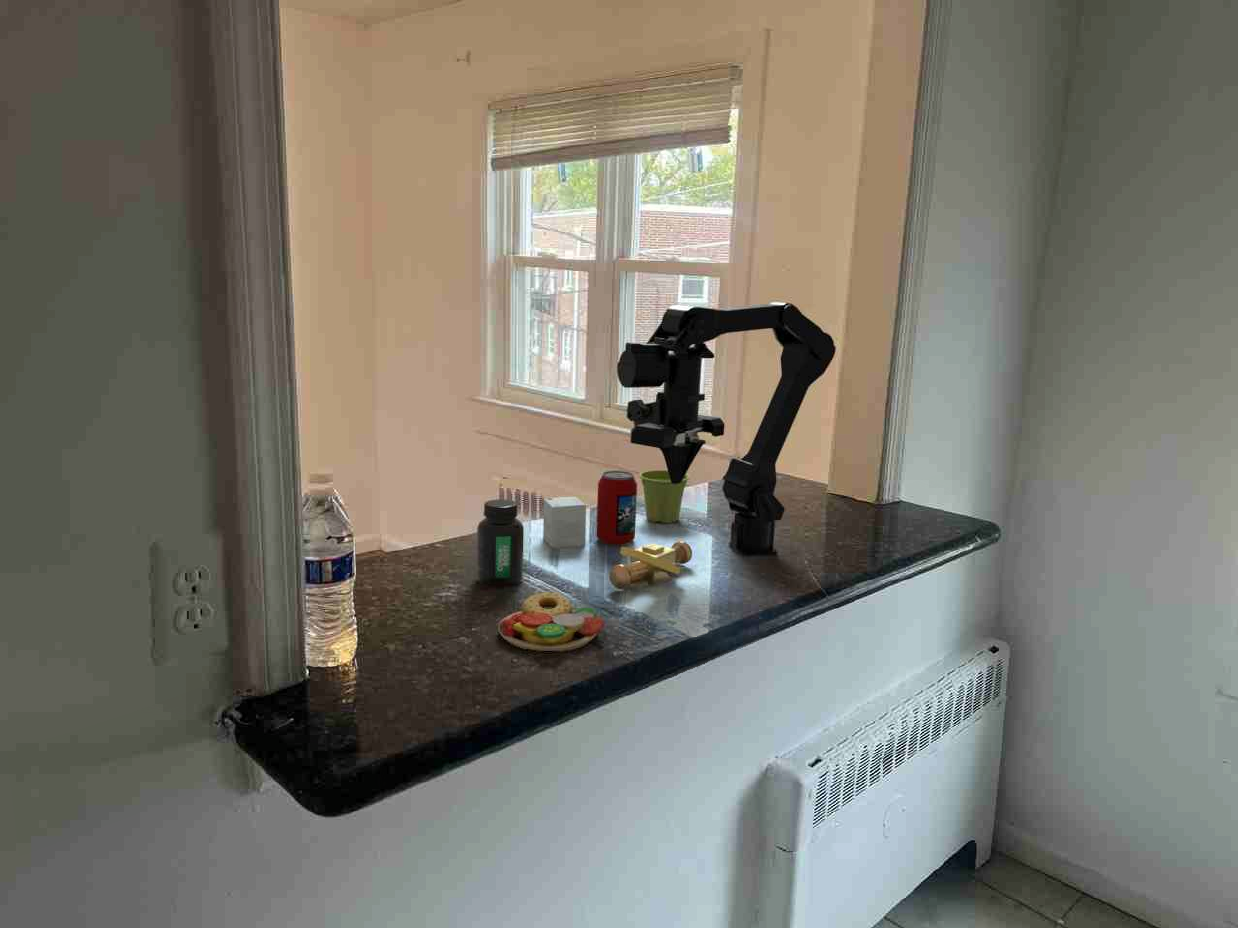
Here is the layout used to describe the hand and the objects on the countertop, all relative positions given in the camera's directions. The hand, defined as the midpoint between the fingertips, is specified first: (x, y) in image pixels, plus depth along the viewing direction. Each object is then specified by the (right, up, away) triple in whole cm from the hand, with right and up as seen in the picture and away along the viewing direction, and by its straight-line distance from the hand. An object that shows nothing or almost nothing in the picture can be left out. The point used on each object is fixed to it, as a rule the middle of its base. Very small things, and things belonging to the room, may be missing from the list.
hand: (675, 483), depth 144 cm
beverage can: (-10, -11, +12) cm, 19 cm away
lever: (0, -13, -8) cm, 15 cm away
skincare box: (-19, -11, +11) cm, 24 cm away
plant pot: (-1, -8, +27) cm, 28 cm away
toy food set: (-18, -19, -28) cm, 38 cm away
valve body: (-4, -14, -6) cm, 16 cm away
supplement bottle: (-27, -15, -9) cm, 32 cm away
